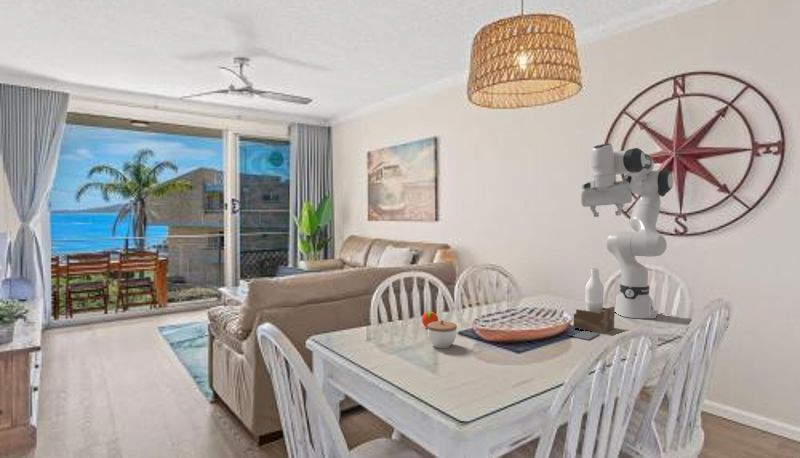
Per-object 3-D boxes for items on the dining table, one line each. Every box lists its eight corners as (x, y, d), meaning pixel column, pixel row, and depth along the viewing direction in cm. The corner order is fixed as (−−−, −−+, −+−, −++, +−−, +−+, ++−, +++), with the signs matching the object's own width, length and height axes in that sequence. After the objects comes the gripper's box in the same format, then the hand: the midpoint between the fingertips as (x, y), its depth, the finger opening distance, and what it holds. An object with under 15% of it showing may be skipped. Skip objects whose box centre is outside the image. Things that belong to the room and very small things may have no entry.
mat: (572, 329, 187) (572, 328, 187) (599, 334, 179) (599, 333, 179) (560, 334, 179) (560, 333, 179) (588, 340, 172) (588, 339, 172)
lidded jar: (455, 351, 159) (455, 324, 159) (425, 349, 161) (425, 323, 161) (457, 342, 170) (457, 317, 169) (429, 340, 172) (429, 316, 172)
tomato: (437, 331, 185) (437, 313, 185) (420, 330, 186) (420, 313, 186) (438, 326, 193) (438, 309, 193) (422, 325, 194) (422, 309, 194)
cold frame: (585, 323, 197) (585, 302, 197) (614, 328, 189) (614, 306, 188) (573, 328, 189) (573, 307, 188) (602, 333, 180) (603, 311, 180)
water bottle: (606, 330, 185) (607, 270, 184) (588, 330, 185) (589, 270, 184) (598, 326, 192) (599, 267, 191) (581, 326, 193) (582, 267, 191)
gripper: (633, 179, 181) (636, 214, 181) (586, 185, 197) (588, 217, 198) (625, 179, 177) (628, 215, 178) (578, 185, 194) (580, 217, 194)
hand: (607, 216), depth 188 cm, fingers open, 8 cm apart
